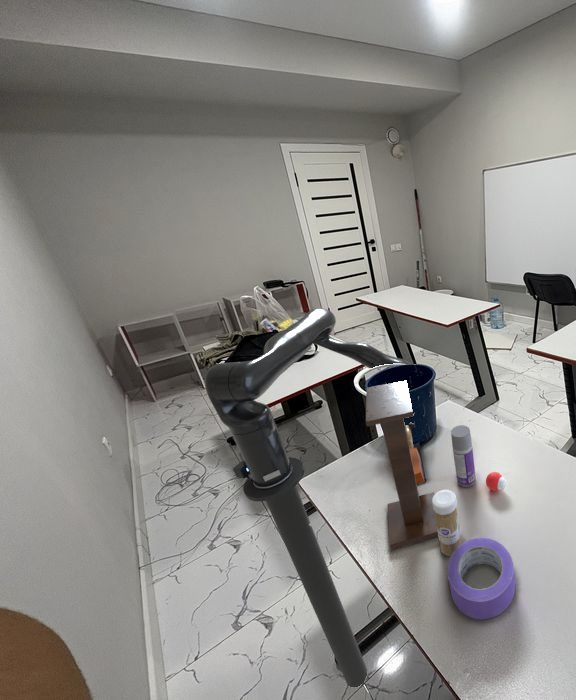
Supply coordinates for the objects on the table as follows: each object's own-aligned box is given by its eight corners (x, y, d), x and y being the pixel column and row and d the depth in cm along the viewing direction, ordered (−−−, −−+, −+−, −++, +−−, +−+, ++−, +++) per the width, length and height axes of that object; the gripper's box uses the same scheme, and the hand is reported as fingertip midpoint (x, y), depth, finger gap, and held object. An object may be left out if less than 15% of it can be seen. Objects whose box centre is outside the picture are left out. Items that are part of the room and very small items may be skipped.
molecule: (483, 491, 85) (482, 477, 83) (492, 477, 88) (491, 464, 87) (502, 498, 82) (501, 484, 81) (510, 484, 86) (510, 470, 84)
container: (472, 471, 91) (467, 423, 85) (478, 484, 87) (473, 434, 81) (455, 475, 90) (448, 427, 84) (459, 489, 86) (453, 439, 80)
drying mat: (394, 447, 103) (394, 445, 102) (418, 441, 104) (418, 440, 104) (398, 487, 88) (398, 485, 88) (426, 480, 90) (425, 478, 89)
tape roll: (438, 580, 66) (434, 563, 64) (485, 543, 72) (484, 525, 70) (478, 636, 57) (475, 618, 55) (528, 588, 64) (528, 569, 62)
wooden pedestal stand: (443, 537, 74) (421, 409, 61) (390, 552, 72) (356, 423, 59) (434, 494, 85) (414, 378, 72) (388, 506, 83) (358, 389, 70)
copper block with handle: (424, 482, 84) (421, 472, 82) (409, 487, 83) (405, 477, 81) (412, 419, 103) (409, 409, 101) (400, 422, 103) (397, 413, 101)
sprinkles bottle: (440, 558, 70) (431, 509, 65) (440, 537, 74) (432, 489, 69) (463, 555, 70) (456, 506, 65) (462, 535, 75) (455, 487, 69)
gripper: (425, 402, 115) (433, 434, 99) (382, 411, 112) (384, 445, 97) (421, 382, 112) (430, 412, 96) (377, 391, 109) (378, 423, 94)
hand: (406, 428), depth 97 cm, fingers closed on copper block with handle, 2 cm apart
